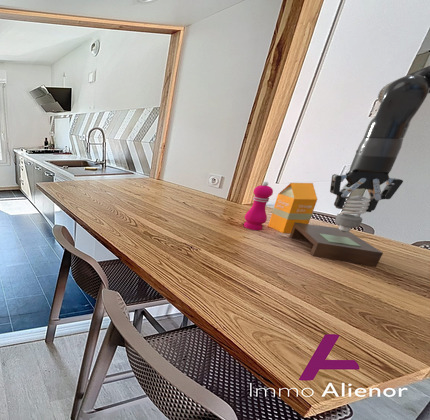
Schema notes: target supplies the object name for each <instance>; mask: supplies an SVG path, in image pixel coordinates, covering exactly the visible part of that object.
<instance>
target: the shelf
mask: <svg viewBox="0 0 430 420" xmlns="http://www.w3.org/2000/svg"><path fill="white" fill-rule="evenodd" d="M289 234H290V235H289V238H290V239H295V240H300V241H307V242H309V243H311V244H312V248H311V251H310V253H309V254H310V255H311V256H312V257H314V258H320V259H327V260H331V261H336V262H337V261H338V262H343V263H350V264H353V265H354V264H355V265H361V266H366V267H371V268H377V266H378V264H379V262H380V260H381V258H382V256H383V254H384V253H383V252H382V251H381V250H379V249H377V248H376V247H375V246H373V245H371V244H370V243H369V242H366V240H363V239H362V238H360V237H359V236H357V235H355V234H354V233H352V232H351V231H347V232H342V231H341V230H340V229H339V227H333V226H325V225H318V224H310V223H309V224H303V223H296V222H295V223H294V225H293V228H292V231H291V233H289Z"/></svg>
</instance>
